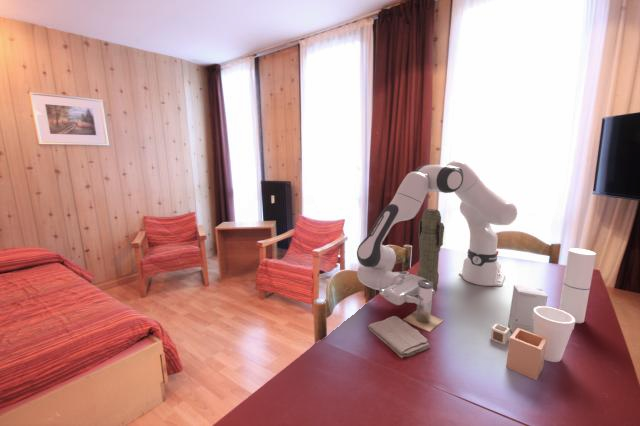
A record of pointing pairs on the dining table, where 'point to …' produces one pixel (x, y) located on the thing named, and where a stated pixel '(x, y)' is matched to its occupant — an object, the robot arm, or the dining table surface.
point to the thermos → (430, 245)
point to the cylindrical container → (577, 282)
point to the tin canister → (424, 301)
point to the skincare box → (525, 307)
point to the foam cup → (553, 330)
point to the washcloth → (399, 336)
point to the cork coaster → (425, 326)
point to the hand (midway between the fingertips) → (427, 297)
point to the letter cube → (500, 333)
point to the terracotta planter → (526, 353)
